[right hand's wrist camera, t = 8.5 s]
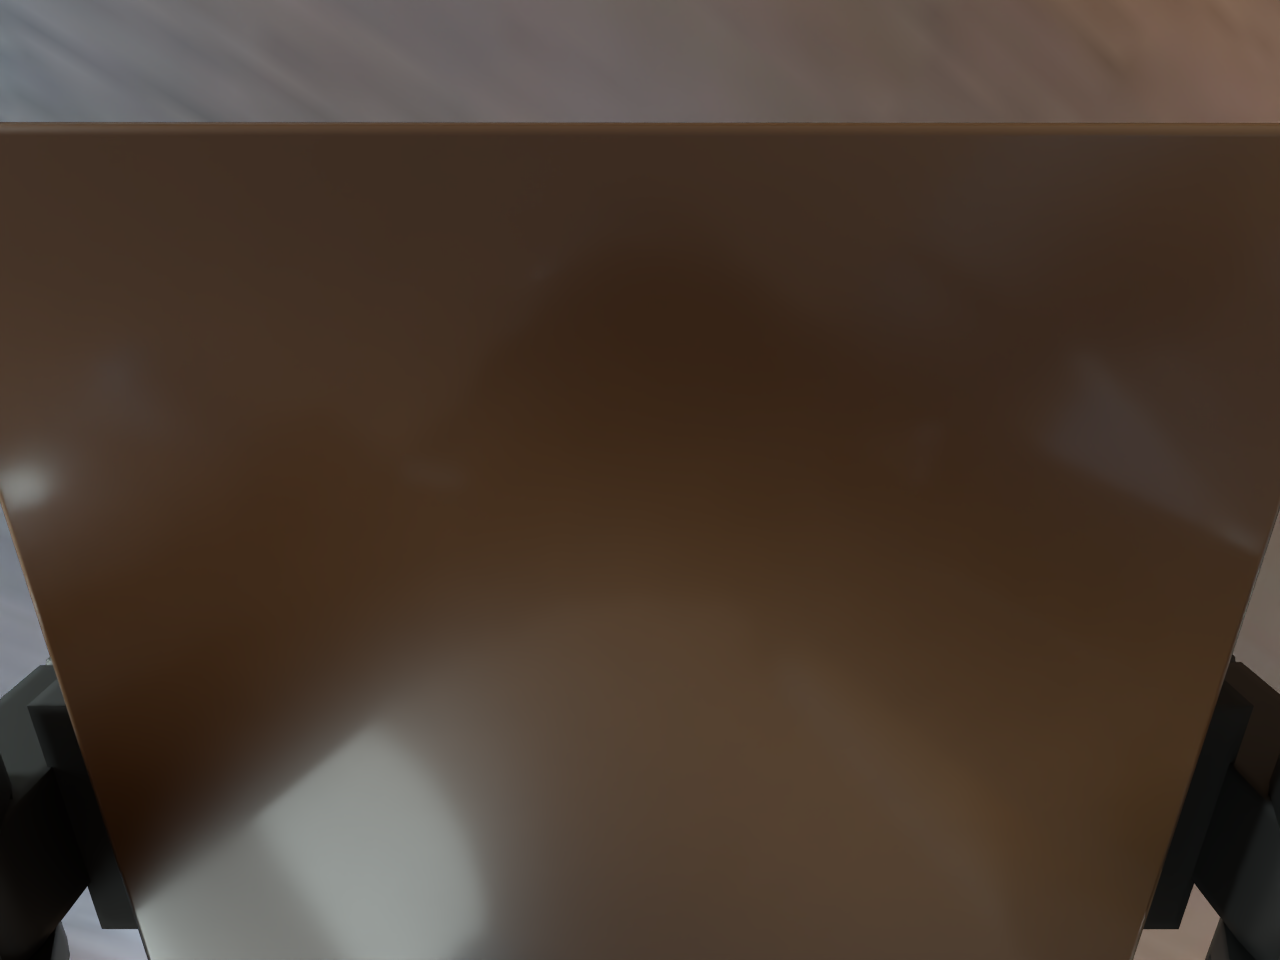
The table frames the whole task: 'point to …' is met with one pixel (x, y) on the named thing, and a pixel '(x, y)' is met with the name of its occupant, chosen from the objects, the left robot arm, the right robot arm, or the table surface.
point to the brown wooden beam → (640, 523)
